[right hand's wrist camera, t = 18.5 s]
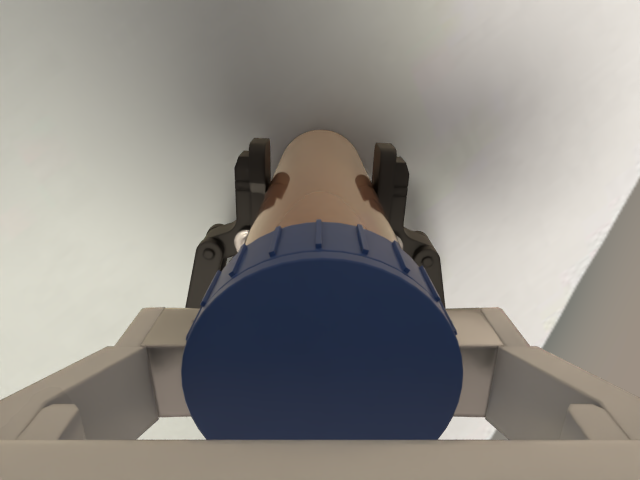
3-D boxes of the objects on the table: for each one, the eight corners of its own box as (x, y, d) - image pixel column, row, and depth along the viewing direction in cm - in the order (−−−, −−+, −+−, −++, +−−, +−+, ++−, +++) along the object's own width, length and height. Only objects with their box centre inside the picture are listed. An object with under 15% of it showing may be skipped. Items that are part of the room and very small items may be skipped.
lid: (412, 432, 11) (430, 502, 10) (199, 410, 11) (175, 478, 9) (466, 235, 9) (501, 276, 8) (208, 203, 9) (180, 236, 7)
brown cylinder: (264, 184, 27) (164, 394, 9) (306, 112, 25) (276, 206, 8) (333, 224, 28) (356, 481, 10) (377, 157, 26) (490, 328, 9)
